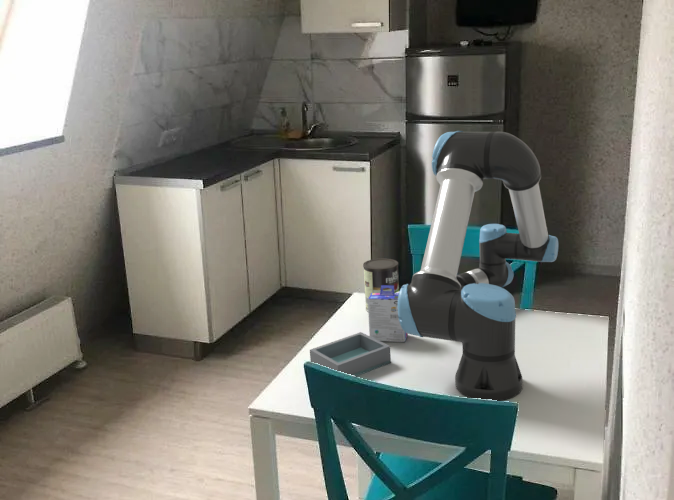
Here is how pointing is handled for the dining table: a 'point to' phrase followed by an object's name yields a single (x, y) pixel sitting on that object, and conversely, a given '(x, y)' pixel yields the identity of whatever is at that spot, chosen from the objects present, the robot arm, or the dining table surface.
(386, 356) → the walled box
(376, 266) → the coffee can
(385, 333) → the ink cartridge box
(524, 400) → the dining table surface
